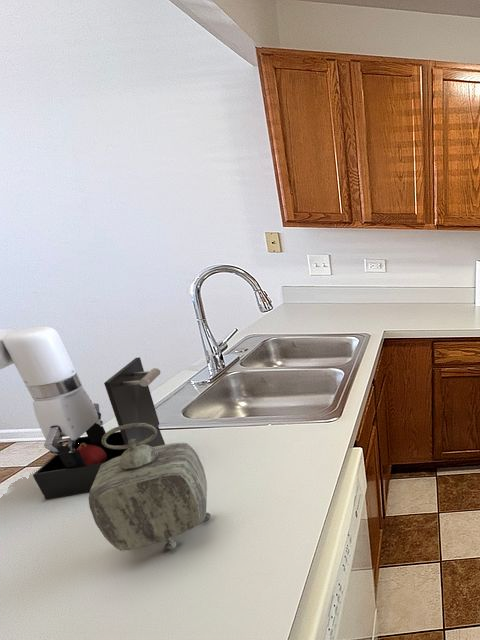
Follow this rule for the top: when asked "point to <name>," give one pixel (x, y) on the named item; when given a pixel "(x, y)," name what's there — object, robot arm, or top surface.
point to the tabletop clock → (148, 493)
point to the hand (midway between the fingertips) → (88, 454)
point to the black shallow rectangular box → (79, 469)
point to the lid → (133, 399)
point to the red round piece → (92, 454)
